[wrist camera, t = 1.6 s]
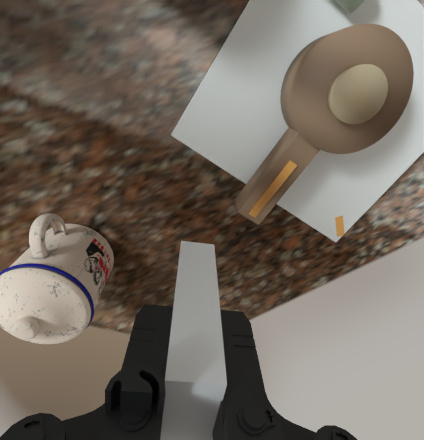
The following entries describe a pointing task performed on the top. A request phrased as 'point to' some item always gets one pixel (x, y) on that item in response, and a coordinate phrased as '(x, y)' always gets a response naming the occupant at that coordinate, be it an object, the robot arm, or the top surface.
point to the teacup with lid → (54, 282)
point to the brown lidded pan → (332, 106)
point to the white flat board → (273, 118)
